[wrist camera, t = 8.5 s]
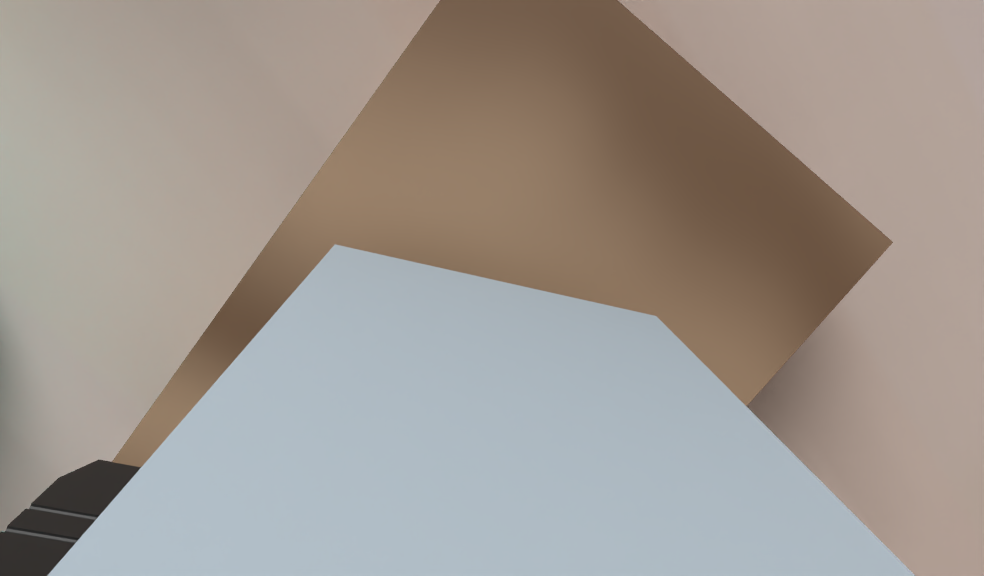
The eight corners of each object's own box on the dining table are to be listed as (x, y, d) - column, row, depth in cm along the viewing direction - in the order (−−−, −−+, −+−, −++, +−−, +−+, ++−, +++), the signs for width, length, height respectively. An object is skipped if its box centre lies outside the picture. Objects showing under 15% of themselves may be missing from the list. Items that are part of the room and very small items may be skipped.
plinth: (491, -37, 17) (508, -96, 12) (780, 209, 19) (893, 242, 14) (146, 445, 20) (46, 554, 15) (431, 618, 22) (426, 765, 17)
